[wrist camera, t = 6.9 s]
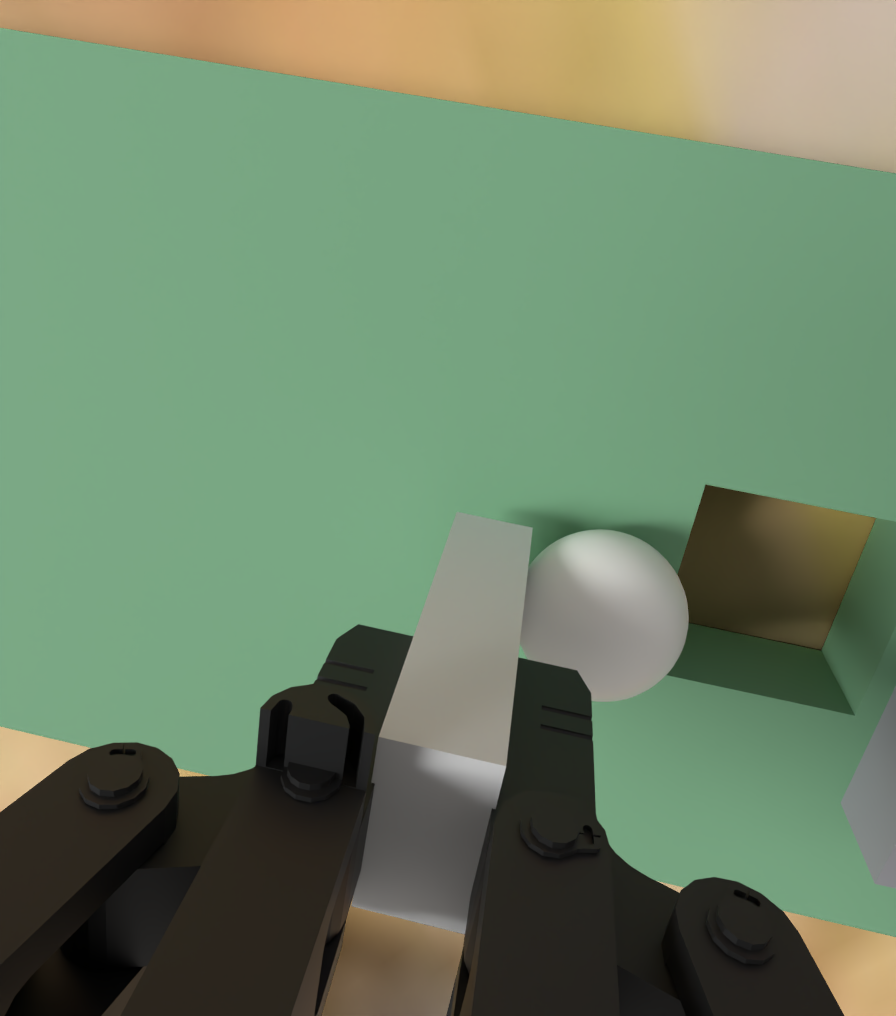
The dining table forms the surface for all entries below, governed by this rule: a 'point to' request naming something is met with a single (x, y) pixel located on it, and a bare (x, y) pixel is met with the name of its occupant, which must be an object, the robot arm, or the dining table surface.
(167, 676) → the green
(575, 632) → the ball
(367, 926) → the dining table surface
